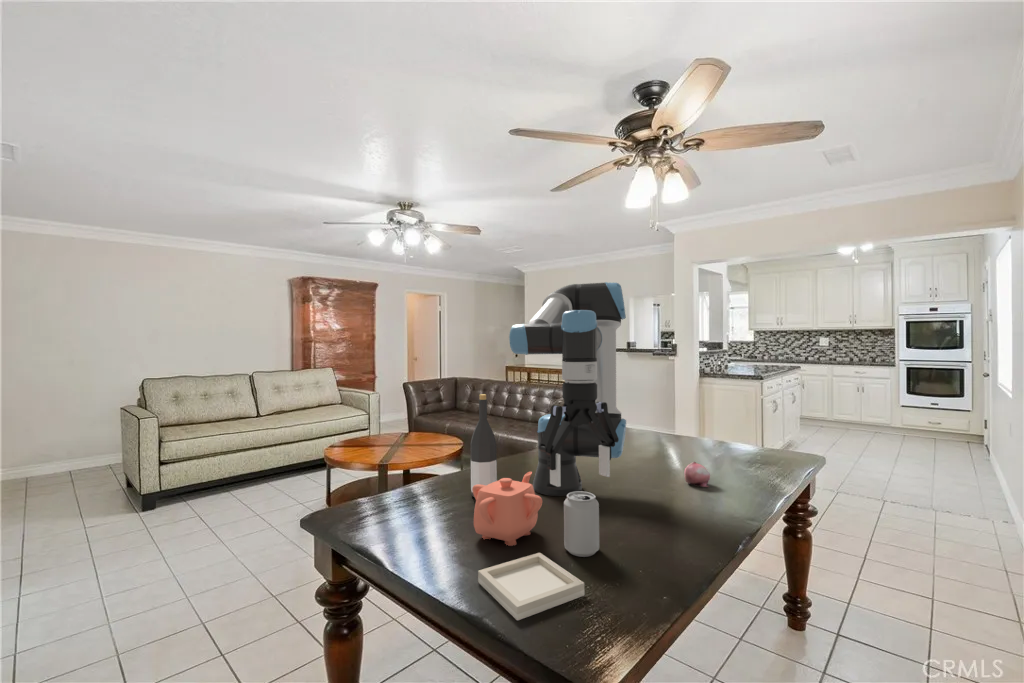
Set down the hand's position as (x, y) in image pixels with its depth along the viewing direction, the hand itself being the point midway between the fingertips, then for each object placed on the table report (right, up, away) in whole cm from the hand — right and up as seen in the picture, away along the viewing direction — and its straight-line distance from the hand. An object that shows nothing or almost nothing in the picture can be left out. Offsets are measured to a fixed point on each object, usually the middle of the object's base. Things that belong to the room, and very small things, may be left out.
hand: (580, 480), depth 98 cm
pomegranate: (+43, -16, +45) cm, 64 cm away
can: (0, -15, 0) cm, 15 cm away
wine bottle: (-23, -16, +37) cm, 47 cm away
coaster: (-12, -15, -15) cm, 24 cm away
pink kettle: (-16, -16, +9) cm, 24 cm away
